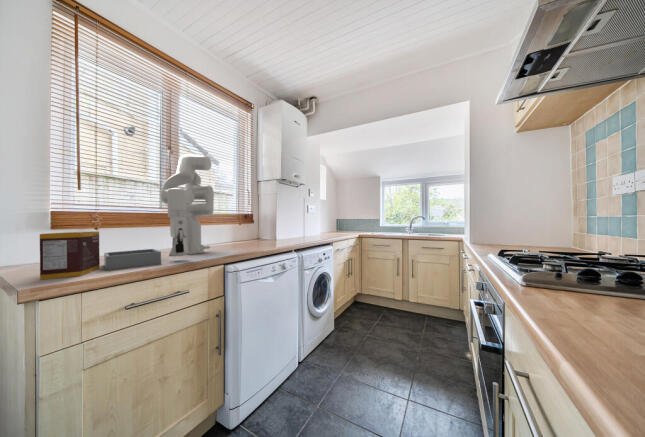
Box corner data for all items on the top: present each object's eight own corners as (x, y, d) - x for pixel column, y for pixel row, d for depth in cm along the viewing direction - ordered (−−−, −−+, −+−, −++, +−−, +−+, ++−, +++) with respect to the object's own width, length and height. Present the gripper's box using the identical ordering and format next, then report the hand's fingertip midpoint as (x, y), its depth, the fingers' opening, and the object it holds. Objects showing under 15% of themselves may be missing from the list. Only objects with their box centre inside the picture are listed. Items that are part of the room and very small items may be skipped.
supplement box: (100, 268, 95) (99, 231, 96) (80, 276, 82) (80, 232, 82) (65, 271, 91) (65, 232, 91) (39, 279, 77) (38, 233, 77)
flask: (190, 254, 114) (189, 234, 114) (179, 257, 107) (179, 235, 107) (176, 254, 115) (176, 234, 115) (165, 256, 108) (164, 235, 107)
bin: (153, 259, 116) (153, 248, 116) (161, 263, 103) (160, 251, 103) (104, 265, 103) (104, 252, 103) (106, 270, 91) (106, 256, 91)
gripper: (191, 214, 107) (192, 252, 107) (181, 214, 119) (182, 249, 119) (172, 214, 102) (173, 254, 102) (163, 214, 114) (164, 250, 114)
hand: (178, 251), depth 111 cm, fingers closed on flask, 5 cm apart
